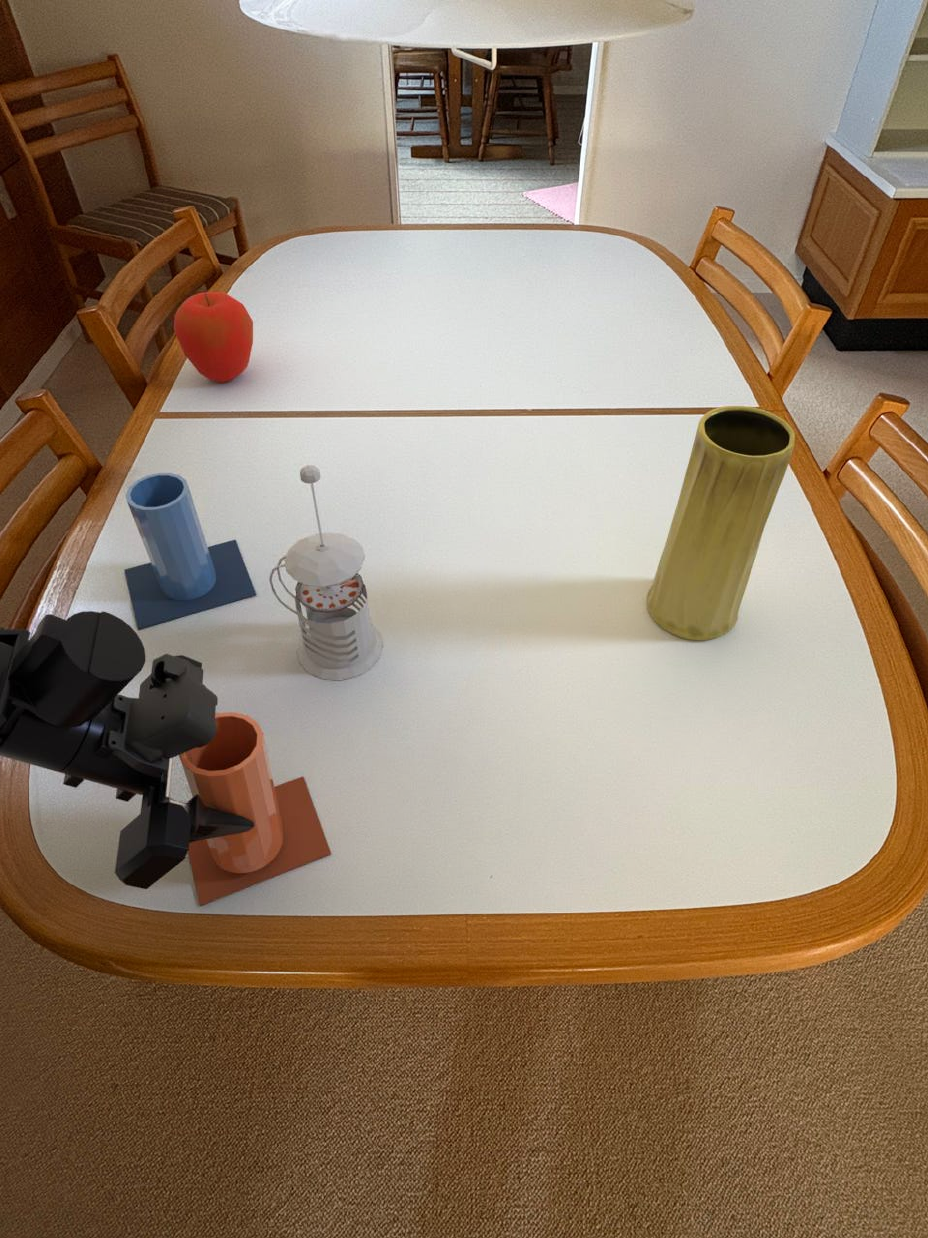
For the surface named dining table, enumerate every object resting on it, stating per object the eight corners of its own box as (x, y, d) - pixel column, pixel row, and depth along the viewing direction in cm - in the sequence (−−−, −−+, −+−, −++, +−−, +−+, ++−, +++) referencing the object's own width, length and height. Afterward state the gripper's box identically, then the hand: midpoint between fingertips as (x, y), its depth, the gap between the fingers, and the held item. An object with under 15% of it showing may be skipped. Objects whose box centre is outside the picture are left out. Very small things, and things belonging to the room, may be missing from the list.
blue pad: (138, 630, 92) (137, 628, 91) (124, 570, 98) (124, 569, 98) (256, 595, 95) (256, 594, 95) (235, 540, 102) (235, 539, 102)
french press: (362, 690, 86) (335, 510, 67) (266, 664, 88) (215, 484, 70) (395, 627, 92) (379, 447, 74) (306, 604, 94) (268, 425, 76)
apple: (270, 387, 128) (253, 302, 118) (195, 402, 125) (172, 316, 115) (253, 351, 136) (236, 269, 125) (183, 365, 133) (160, 282, 122)
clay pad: (200, 906, 69) (200, 905, 69) (181, 821, 75) (181, 820, 75) (331, 854, 73) (331, 853, 72) (303, 777, 78) (303, 776, 78)
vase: (755, 614, 93) (827, 436, 75) (695, 656, 89) (755, 477, 71) (687, 565, 99) (738, 388, 81) (627, 602, 95) (667, 424, 76)
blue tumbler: (166, 607, 94) (130, 516, 84) (157, 572, 98) (121, 481, 88) (221, 591, 96) (193, 500, 85) (210, 557, 100) (181, 466, 89)
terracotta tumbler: (196, 863, 71) (162, 764, 61) (231, 804, 75) (204, 705, 66) (264, 881, 69) (239, 783, 60) (295, 820, 74) (276, 721, 65)
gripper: (112, 792, 49) (315, 848, 58) (143, 584, 61) (306, 658, 71) (29, 869, 53) (228, 909, 63) (73, 662, 66) (234, 721, 75)
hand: (252, 790), depth 68 cm, fingers closed on terracotta tumbler, 7 cm apart
